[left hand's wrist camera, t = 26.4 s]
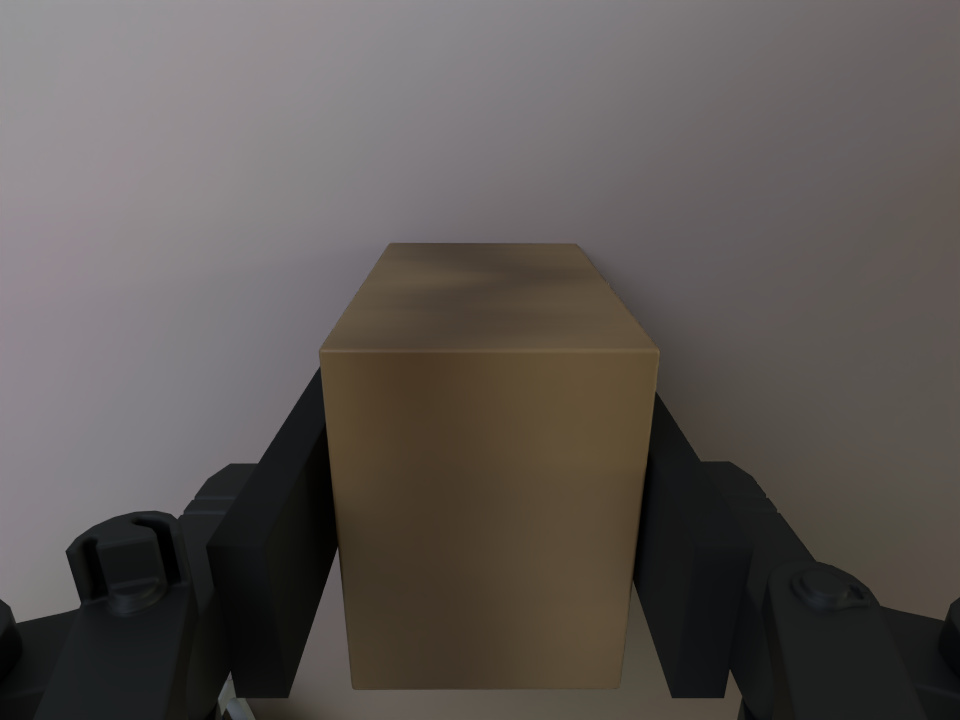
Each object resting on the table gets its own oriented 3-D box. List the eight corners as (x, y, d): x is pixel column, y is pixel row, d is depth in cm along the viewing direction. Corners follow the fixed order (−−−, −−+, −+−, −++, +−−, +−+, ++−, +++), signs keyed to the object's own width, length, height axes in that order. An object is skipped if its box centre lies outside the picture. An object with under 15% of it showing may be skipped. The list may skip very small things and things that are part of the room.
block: (576, 241, 16) (662, 349, 9) (562, 461, 19) (620, 690, 11) (389, 241, 16) (316, 348, 9) (400, 462, 19) (351, 691, 11)
